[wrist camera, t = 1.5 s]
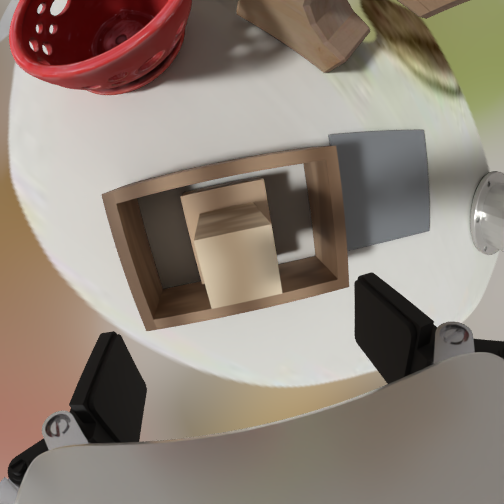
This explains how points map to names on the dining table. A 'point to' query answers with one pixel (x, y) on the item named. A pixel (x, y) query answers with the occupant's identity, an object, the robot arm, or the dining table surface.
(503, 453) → the robot arm
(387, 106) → the dining table surface
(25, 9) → the plant pot
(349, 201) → the mat
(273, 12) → the decorative block
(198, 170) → the walnut box
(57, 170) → the dining table surface
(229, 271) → the maple block
